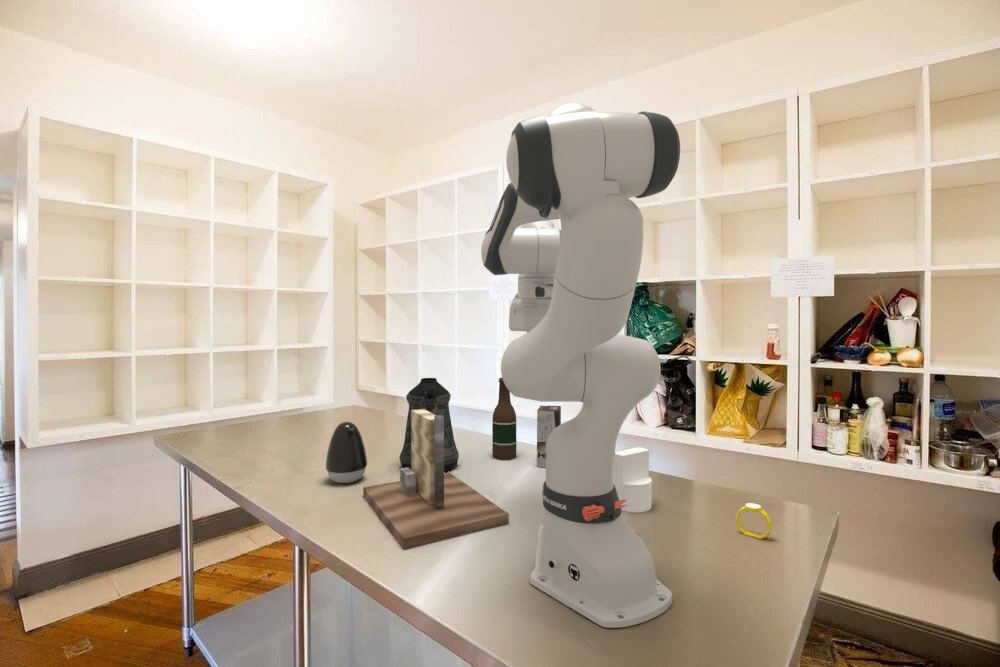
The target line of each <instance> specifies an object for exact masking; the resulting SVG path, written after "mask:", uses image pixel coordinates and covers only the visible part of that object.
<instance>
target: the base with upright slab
mask: <svg viewBox="0 0 1000 667" xmlns="http://www.w3.org/2000/svg"><path fill="white" fill-rule="evenodd" d="M649 468H650V450H649V449H647V448H644V447H641V446H640V447H633V448H628V449H623V450H620V451H615V456H614V474H613V484H614V486H615V488H616V491H617V494H618V498H619V501H620V500H624V499H625V500H626V502H624V503H623V504H620V505H626V506H625V507H621V509H622V512H627V513H644V512H649V511H650V510H652V507H653V506H652V502H653V498H652V497H653V491H652V490H653V480H652V478H651V477H650V475H649V474H650V469H649Z"/></svg>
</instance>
